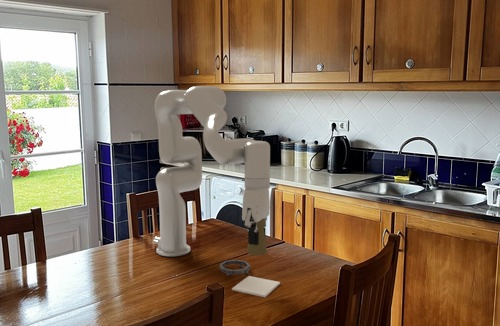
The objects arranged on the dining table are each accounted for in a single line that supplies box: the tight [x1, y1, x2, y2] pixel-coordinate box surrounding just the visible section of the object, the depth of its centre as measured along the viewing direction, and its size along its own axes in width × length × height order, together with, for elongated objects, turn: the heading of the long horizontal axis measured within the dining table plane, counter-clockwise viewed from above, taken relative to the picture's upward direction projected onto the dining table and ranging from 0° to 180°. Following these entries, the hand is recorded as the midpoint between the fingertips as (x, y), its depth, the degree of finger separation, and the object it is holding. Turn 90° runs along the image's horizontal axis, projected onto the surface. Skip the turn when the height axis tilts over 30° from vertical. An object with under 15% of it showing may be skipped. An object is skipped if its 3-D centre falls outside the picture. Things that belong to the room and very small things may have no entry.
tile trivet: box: [231, 275, 281, 298], centre depth 147 cm, size 11×11×1 cm
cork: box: [246, 218, 268, 256], centre depth 144 cm, size 6×6×11 cm
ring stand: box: [219, 259, 251, 278], centre depth 159 cm, size 10×10×2 cm
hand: (256, 241), depth 145 cm, fingers closed on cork, 4 cm apart
